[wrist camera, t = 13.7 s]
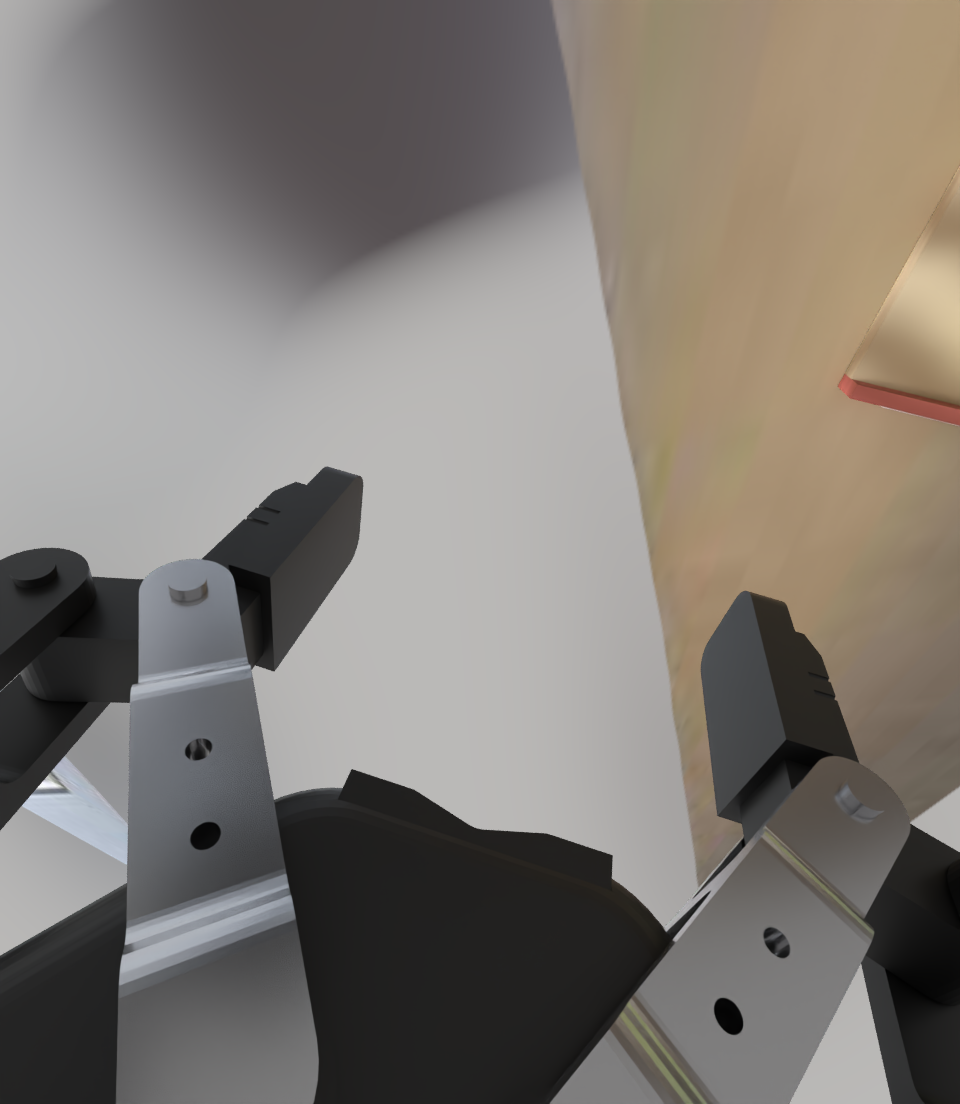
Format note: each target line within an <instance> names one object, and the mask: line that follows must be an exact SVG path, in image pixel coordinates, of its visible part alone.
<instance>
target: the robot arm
mask: <svg viewBox="0 0 960 1104" xmlns="http://www.w3.org/2000/svg"><path fill="white" fill-rule="evenodd" d="M362 493H363V480H362V477H361V476H358V475H354V474H351V473H347V472H344V471H341V470H337V469H334V468H330V467H325V468H323V469H322V470H321V471H320V472H319V473H318V474H317V475H316V476H315V477H314V478H313V479H312V480H311V481H310V482H309V483H308V484H307V485H305V484H301V483H297V482H295V483H292V484H290V485H287V486H285V487H283V488H280V489H278V490H276V491H274V492H272V493H271V494H270V495H269V496H268V497H267V498H266V499H265V500H264V501H263V502H262V503H261V504H260V505H259V508H255V509H254V510H253V511H252V512H251V513H250V514H249V515H248V516H247V519H246V520H245V519H244V520H243V521H242V522H241V523H240V524H238V526H236V527H235V528H234V529H233V530H232V531H231V532H230V533H229V534H228V535H227V536H226V537H225V538H224V539H223V540H222V541H221V542H219V543H218V544H217V545H216V546H215V547H214V548H213V549H212V550H211V551H210V552H209V553H208V554H207V555H206V556H204V557H203V558H202V559H186V560H179V561H175V562H171V563H168V564H166V565H163V566H161V567H159V568H157V569H155V570H154V571H152V572H151V573H150V574H149V575H148V576H147V577H146V578H145V579H140V580H139V579H122V578H105V577H92V576H91V572H90V569H89V566H88V563H87V561H86V560H85V559H84V558H83V557H82V556H81V555H79V554H78V553H76V552H73V551H70V550H66V549H60V548H40V549H33V550H27V551H23V552H20V553H16V554H14V555H11V556H8V557H6V558H4V559H2V560H0V691H1V690H2V689H3V688H4V687H5V686H6V685H7V684H8V683H9V682H10V681H12V680H13V679H14V677H16V676H17V675H18V674H19V673H20V674H19V675H18V676H17V677H16V678H15V679H14V680H13V681H12V682H11V683H10V684H8V685H7V686H6V687H5V688H4V689H3V690H2V691H1V692H0V830H1V829H2V828H3V827H4V826H5V824H6V823H7V822H8V821H9V820H10V819H11V817H12V816H13V815H14V814H15V813H16V812H17V810H18V809H19V808H20V807H21V806H22V805H23V804H24V802H25V801H26V800H27V799H28V798H29V797H30V795H31V794H32V793H33V792H34V791H35V790H36V788H37V787H38V786H39V785H40V784H41V783H42V781H43V780H44V779H45V778H46V777H47V776H48V774H49V773H50V772H51V771H52V770H53V769H54V767H55V766H56V765H57V764H58V763H59V762H60V761H61V759H62V758H63V757H64V756H65V755H66V754H67V752H68V751H69V750H70V749H71V748H72V747H73V745H74V744H75V743H76V742H77V741H78V740H79V738H80V737H81V736H82V735H83V734H84V733H85V731H86V730H87V729H88V728H89V727H90V726H91V724H92V723H93V722H94V721H95V720H96V718H97V717H98V716H99V715H100V714H101V713H102V712H103V710H104V709H105V708H106V707H107V706H108V705H109V704H110V702H121V703H130V736H129V737H130V741H129V799H128V800H129V801H128V861H127V883H126V884H124V885H123V886H121V887H119V888H117V889H116V890H114V891H112V892H110V893H109V894H107V895H105V896H103V897H102V898H100V899H98V900H96V901H95V902H93V903H91V904H89V905H88V906H86V907H84V908H82V909H81V910H79V911H77V912H76V913H74V914H72V915H70V916H69V917H67V918H65V919H63V920H62V921H60V922H58V923H56V924H55V925H53V926H51V927H49V928H48V929H46V930H44V931H42V932H41V933H39V934H37V935H35V936H34V937H32V938H30V939H28V940H27V941H25V942H23V943H22V944H20V945H18V946H16V947H15V948H13V949H11V950H9V951H8V952H6V953H4V954H3V955H1V956H0V1104H789V1103H790V1101H791V1099H792V1097H793V1095H794V1093H795V1091H796V1089H797V1087H798V1085H799V1083H800V1081H801V1080H802V1078H803V1075H804V1073H805V1072H806V1070H807V1068H808V1066H809V1064H810V1062H811V1060H812V1058H813V1056H814V1054H815V1052H816V1050H817V1048H818V1046H819V1044H820V1042H821V1040H822V1038H823V1036H824V1034H825V1032H826V1030H827V1028H828V1027H829V1025H830V1022H831V1021H832V1019H833V1017H834V1015H835V1013H836V1011H837V1009H838V1007H839V1005H840V1003H841V1001H842V999H843V997H844V995H845V993H846V991H847V989H848V987H849V985H850V984H851V981H852V980H853V978H854V976H855V974H856V972H857V970H858V968H859V966H860V964H862V969H863V973H864V978H865V982H866V987H867V992H868V996H869V1001H870V1005H871V1010H872V1014H873V1019H874V1023H875V1028H876V1033H877V1037H878V1041H879V1046H880V1051H881V1055H882V1059H883V1064H884V1069H885V1073H886V1078H887V1082H888V1087H889V1091H890V1095H891V1101H892V1104H960V852H958V851H956V850H954V849H953V848H951V847H949V846H947V845H946V844H944V843H942V842H941V841H939V840H937V839H935V838H934V837H932V836H930V835H928V834H927V833H925V832H923V831H922V830H920V829H918V828H916V827H915V826H913V825H912V824H910V820H909V816H908V813H907V811H906V809H905V807H904V805H903V803H902V801H901V800H900V798H899V797H898V796H897V794H896V793H895V792H894V791H893V789H892V788H891V787H890V786H889V785H888V784H887V783H886V782H885V781H884V780H883V779H882V778H880V777H879V776H878V775H877V774H875V773H874V772H873V771H871V770H870V769H868V768H867V767H865V766H863V765H862V764H860V763H859V761H858V758H857V755H856V753H855V750H854V747H853V744H852V741H851V738H850V736H849V733H848V730H847V727H846V724H845V722H844V719H843V716H842V713H841V710H840V707H839V705H838V702H837V701H836V700H834V698H835V693H834V691H833V688H832V685H831V682H828V679H829V676H828V674H827V671H826V668H825V665H824V662H823V660H822V657H821V655H820V654H819V653H818V651H817V650H816V649H815V648H814V646H813V645H812V644H811V642H810V641H809V640H808V639H807V637H806V636H805V635H804V634H802V633H799V632H795V630H794V627H793V623H792V620H791V617H790V614H789V611H788V608H787V605H786V604H785V603H784V602H782V601H779V600H775V599H772V598H769V597H765V596H762V595H759V594H755V593H752V592H748V591H743V592H741V593H740V594H739V595H738V596H737V598H736V599H735V601H734V602H733V604H732V605H731V607H730V608H729V610H728V612H727V613H726V615H725V616H724V618H723V619H722V621H721V623H720V624H719V626H718V627H717V629H716V630H715V632H714V634H713V635H712V637H711V638H710V640H709V641H708V643H707V645H706V647H705V650H704V653H703V657H702V662H701V678H702V686H703V695H704V704H705V712H706V721H707V730H708V738H709V747H710V756H711V765H712V773H713V782H714V791H715V799H716V808H717V816H719V817H722V818H725V819H729V820H732V821H735V822H738V823H741V824H742V827H743V834H744V836H743V837H742V838H741V839H740V840H739V841H738V842H737V843H736V844H735V846H734V847H733V848H732V849H731V850H730V851H729V853H728V854H727V855H726V856H725V857H724V859H723V860H722V861H721V862H720V863H719V865H718V866H717V867H716V868H715V869H714V870H713V872H712V873H711V874H710V875H709V876H708V878H707V879H706V880H705V881H704V882H703V884H702V885H701V886H700V887H699V888H698V889H697V891H696V892H695V893H694V894H693V895H692V897H691V898H690V899H689V900H688V902H687V903H686V904H685V905H684V906H683V907H682V908H681V909H680V911H679V912H678V913H677V914H676V915H675V916H674V917H673V918H672V919H671V921H670V922H669V923H668V924H667V925H666V926H665V927H664V928H663V926H662V925H661V924H660V923H659V921H658V920H657V919H656V918H655V917H654V916H653V914H652V913H651V912H650V911H649V910H648V909H647V908H646V907H645V906H644V905H643V904H642V903H641V902H640V901H639V900H638V899H637V898H636V897H635V896H634V895H633V894H632V893H630V892H629V891H628V890H627V889H625V888H624V887H623V886H622V885H620V884H619V883H617V882H616V881H614V880H613V879H612V857H613V856H612V855H610V854H607V853H604V852H601V851H597V850H595V849H591V848H589V847H585V846H583V845H580V844H577V843H574V842H571V841H568V840H565V839H562V838H559V837H556V836H553V835H549V834H544V833H528V832H511V831H495V830H481V829H477V828H474V827H472V826H470V825H468V824H467V823H465V822H464V821H462V820H461V819H459V818H457V817H456V816H454V815H453V814H451V813H450V812H448V811H446V810H445V809H443V808H442V807H440V806H439V805H437V804H436V803H434V802H432V801H431V800H429V799H428V798H426V797H425V796H423V795H421V794H420V793H418V792H417V791H415V790H413V789H410V788H407V787H404V786H401V785H398V784H395V783H392V782H389V781H386V780H383V779H380V778H377V777H374V776H371V775H368V774H365V773H362V772H359V771H356V770H353V769H352V770H351V772H350V774H349V776H348V778H347V780H346V783H345V785H344V787H343V788H320V789H311V790H306V791H300V792H297V793H293V794H290V795H287V796H283V797H280V798H278V799H276V800H274V799H273V792H272V787H271V781H270V775H269V769H268V763H267V757H266V752H265V746H264V740H263V734H262V729H261V723H260V717H259V711H258V705H257V699H256V693H255V687H254V682H253V677H252V671H251V670H252V669H253V667H254V666H255V665H256V666H259V667H262V668H266V669H268V670H271V671H275V670H276V668H277V667H278V666H279V664H280V663H281V661H282V660H283V659H284V657H285V656H286V654H287V653H288V651H289V650H290V648H291V647H292V646H293V644H294V643H295V641H296V640H297V638H298V637H299V635H300V634H301V633H302V631H303V630H304V628H305V627H306V625H307V624H308V623H309V621H310V620H311V618H312V617H313V615H314V614H315V613H316V611H317V610H318V608H319V606H320V605H321V604H322V602H323V601H324V600H325V598H326V597H327V595H328V594H329V593H330V591H331V590H332V588H333V587H334V585H335V584H336V582H337V581H338V580H339V578H340V577H341V575H342V574H343V572H344V571H345V569H346V568H347V567H348V565H349V564H350V562H351V560H352V558H353V556H354V554H355V551H356V548H357V545H358V540H359V532H360V520H361V507H362Z"/></svg>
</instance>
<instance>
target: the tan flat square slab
mask: <svg viewBox="0 0 960 1104" xmlns="http://www.w3.org/2000/svg"><path fill="white" fill-rule="evenodd" d="M838 387H839V388H840V389H841V390H842V391H843V392H844V393H845V394H846V395H847V396H848V397H849V398H851V399H855V400H859V401H863V402H867V403H871V404H875V405H879V406H880V407H883V408H887V409H891V410H895V411H899V412H903V413H907V414H911V415H915V416H919V417H923V418H927V419H931V420H935V421H939V422H943V423H948V424H952V425H956V426H960V166H959V168H958V170H957V172H956V173H955V175H954V177H953V179H952V181H951V182H950V184H949V186H948V188H947V190H946V191H945V193H944V195H943V197H942V199H941V201H940V202H939V204H938V206H937V208H936V210H935V211H934V213H933V215H932V217H931V219H930V220H929V222H928V224H927V226H926V228H925V229H924V231H923V233H922V235H921V237H920V238H919V240H918V242H917V244H916V246H915V248H914V249H913V251H912V253H911V255H910V257H909V258H908V260H907V262H906V264H905V266H904V267H903V269H902V271H901V273H900V275H899V276H898V278H897V280H896V282H895V284H894V286H893V287H892V289H891V291H890V293H889V295H888V296H887V298H886V300H885V302H884V304H883V305H882V307H881V309H880V311H879V313H878V314H877V316H876V318H875V320H874V322H873V323H872V325H871V327H870V329H869V331H868V333H867V334H866V336H865V338H864V340H863V342H862V343H861V345H860V347H859V349H858V351H857V352H856V354H855V356H854V358H853V360H852V361H851V363H850V365H849V367H848V369H847V371H846V372H845V374H844V376H843V378H842V380H841V381H840V383H839V385H838Z"/></svg>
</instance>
